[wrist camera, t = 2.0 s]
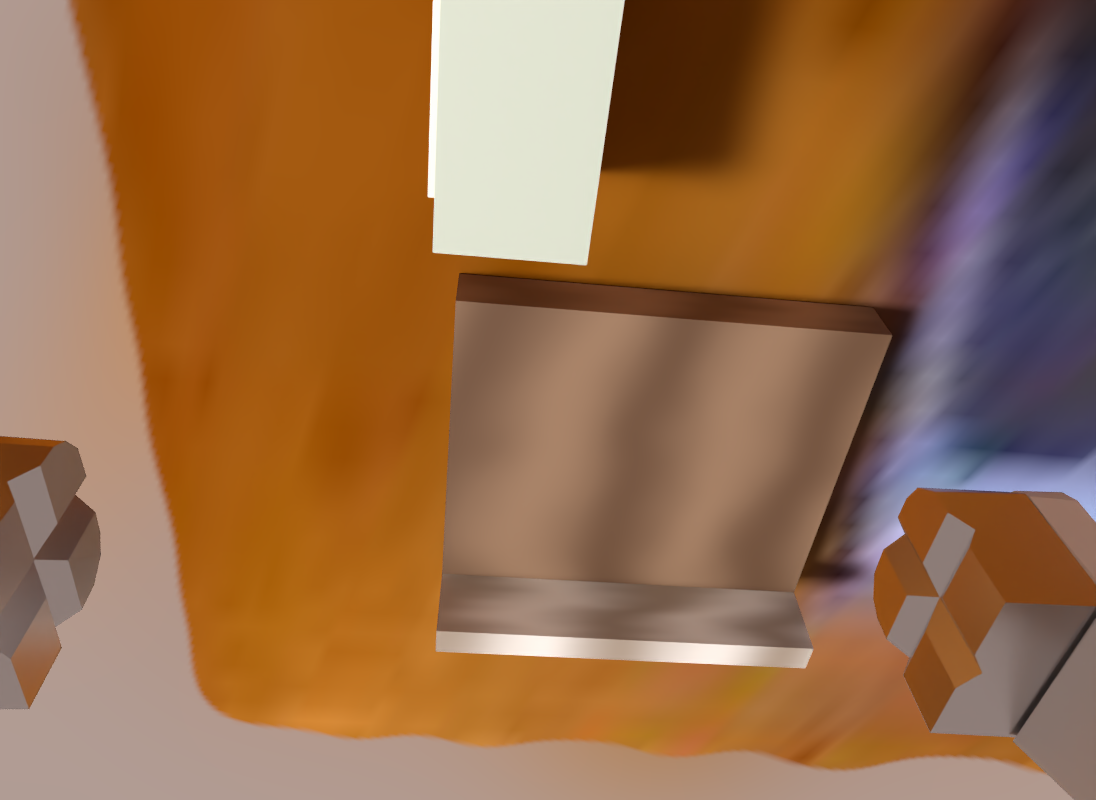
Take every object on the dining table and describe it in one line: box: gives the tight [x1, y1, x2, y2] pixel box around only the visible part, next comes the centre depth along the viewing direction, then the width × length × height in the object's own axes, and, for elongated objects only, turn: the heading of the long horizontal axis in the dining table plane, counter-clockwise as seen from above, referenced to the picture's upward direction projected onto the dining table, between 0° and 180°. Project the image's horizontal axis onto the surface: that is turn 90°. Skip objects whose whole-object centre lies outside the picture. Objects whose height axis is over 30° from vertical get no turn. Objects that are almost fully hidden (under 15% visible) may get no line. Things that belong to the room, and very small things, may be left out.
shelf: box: [436, 274, 892, 668], centre depth 33 cm, size 15×14×5 cm
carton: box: [428, 0, 625, 265], centre depth 23 cm, size 4×8×7 cm, turn 174°
